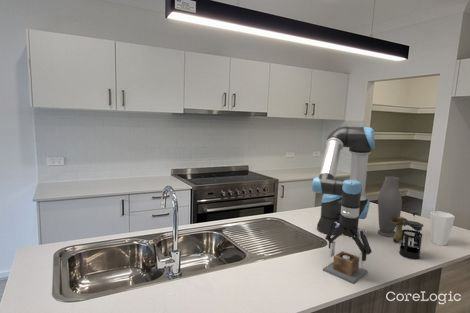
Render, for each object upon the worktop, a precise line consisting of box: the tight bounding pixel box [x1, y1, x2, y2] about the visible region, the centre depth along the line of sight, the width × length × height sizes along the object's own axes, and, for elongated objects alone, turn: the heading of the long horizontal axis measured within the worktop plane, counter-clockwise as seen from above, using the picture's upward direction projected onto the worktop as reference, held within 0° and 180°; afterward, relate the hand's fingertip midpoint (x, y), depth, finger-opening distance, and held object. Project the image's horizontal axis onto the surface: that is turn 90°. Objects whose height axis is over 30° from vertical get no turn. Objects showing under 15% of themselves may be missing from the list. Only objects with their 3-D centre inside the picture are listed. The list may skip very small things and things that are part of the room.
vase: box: [377, 175, 403, 238], centre depth 174 cm, size 13×13×35 cm
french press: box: [398, 210, 424, 260], centre depth 147 cm, size 12×9×23 cm
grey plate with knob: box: [322, 255, 368, 285], centre depth 130 cm, size 14×14×7 cm
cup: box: [429, 210, 456, 247], centre depth 164 cm, size 11×10×17 cm
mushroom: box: [391, 216, 409, 243], centre depth 163 cm, size 9×9×15 cm
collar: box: [333, 250, 360, 276], centre depth 130 cm, size 8×8×6 cm
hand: (345, 261), depth 130 cm, fingers open, 13 cm apart
